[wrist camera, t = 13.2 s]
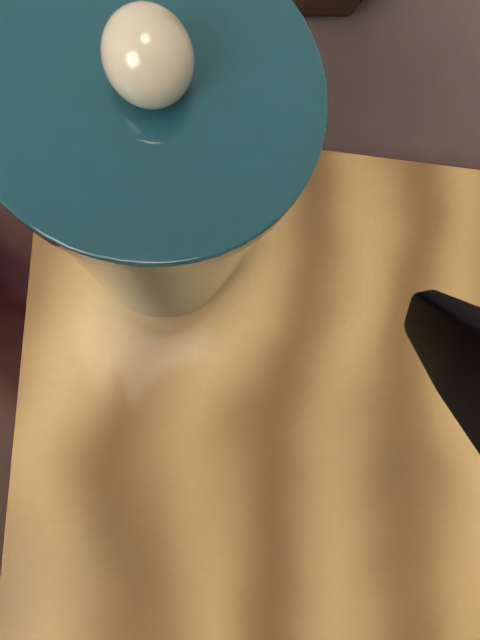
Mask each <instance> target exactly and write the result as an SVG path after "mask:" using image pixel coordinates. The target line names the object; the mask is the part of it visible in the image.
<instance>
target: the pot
mask: <svg viewBox="0 0 480 640" xmlns="http://www.w3.org/2000/svg"><path fill="white" fill-rule="evenodd" d="M327 117H328V95H327V83H326V77H325V72H324V67H323V63H322V59H321V56H320V53H319V50H318V47H317V44H316V41H315V39H314V36H313V34H312V32H311V30H310V28H309V26H308V24H307V22H306V20H305V18H304V17H303V15H302V14H301V12H300V10H299V9H298V7H297V6H296V4H295V3H294V1H293V0H0V203H1V204H2V205H3V206H4V207H5V208H6V209H7V210H8V211H9V212H10V213H12V214H13V215H14V216H15V217H16V218H17V219H18V220H19V221H21V222H22V223H23V224H24V225H25V226H26V227H27V228H28V229H30V230H31V231H33V232H34V233H35V234H37V235H38V236H40V237H41V238H43V239H44V240H46V241H47V242H49V243H50V244H52V245H54V246H56V247H58V248H60V249H62V250H64V251H66V252H68V253H69V254H70V255H71V256H72V257H73V258H74V259H75V260H76V261H77V262H78V263H79V264H80V265H81V266H82V267H83V268H84V269H85V270H86V271H87V272H88V273H89V274H90V275H91V276H92V278H93V279H94V280H95V281H96V282H97V283H98V284H99V285H100V286H101V287H102V288H103V289H104V290H105V291H106V292H107V293H108V294H109V295H110V296H111V297H112V298H113V299H114V300H116V301H117V302H118V303H120V304H121V305H123V306H124V307H126V308H128V309H130V310H132V311H134V312H136V313H139V314H142V315H146V316H151V317H160V318H166V317H176V316H181V315H185V314H188V313H191V312H193V311H195V310H197V309H199V308H201V307H202V306H204V305H205V304H207V303H208V302H209V301H210V300H212V299H213V298H214V297H215V296H216V295H217V293H218V292H219V291H220V290H221V288H222V287H223V285H224V284H225V283H226V281H227V280H228V278H229V277H230V275H231V274H232V272H233V271H234V269H235V268H236V266H237V265H238V263H239V262H240V261H241V259H242V258H243V256H244V255H245V253H246V252H247V250H248V249H249V247H250V246H251V244H253V243H255V242H256V241H258V240H259V239H260V238H261V237H263V236H264V235H265V234H266V233H267V232H269V231H270V230H271V229H272V228H274V226H275V225H276V224H277V223H278V222H279V221H280V220H281V219H282V218H283V217H284V216H285V215H286V213H287V212H288V211H289V210H290V209H291V207H292V206H293V205H294V203H295V202H296V201H297V199H298V198H299V196H300V195H301V193H302V192H303V190H304V189H305V188H306V186H307V184H308V182H309V180H310V178H311V176H312V174H313V172H314V170H315V168H316V166H317V163H318V160H319V157H320V154H321V151H322V148H323V144H324V139H325V134H326V128H327Z"/></svg>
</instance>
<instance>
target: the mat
mask: <svg viewBox="0 0 480 640" xmlns="http://www.w3.org/2000/svg"><path fill="white" fill-rule="evenodd" d="M426 290H437V291H439V292H442V293H445V294H447V295H450V296H452V297H455V298H458V299H460V300H463V301H465V302H468V303H471V304H473V305H476V306H478V307H480V170H476V169H468V168H460V167H452V166H445V165H437V164H429V163H421V162H413V161H405V160H397V159H389V158H381V157H374V156H366V155H358V154H350V153H342V152H334V151H326V150H322V151H321V154H320V157H319V160H318V163H317V166H316V168H315V170H314V172H313V174H312V176H311V178H310V180H309V182H308V184H307V186H306V188H305V189H304V190H303V192H302V193H301V195H300V196H299V198H298V199H297V201H296V202H295V203H294V205H293V206H292V207H291V209H290V210H289V211H288V212H287V213H286V215H285V216H284V217H283V218H282V219H281V220H280V221H279V222H278V223H277V224H276V225H275V226H274V228H272V229H271V230H270V231H269V232H267V233H266V234H265V235H264V236H263V237H261V238H260V239H259V240H258V241H256V242H255V243H253V244H251V246H250V247H249V249H248V250H247V252H246V253H245V255H244V256H243V258H242V259H241V261H240V262H239V263H238V265H237V266H236V268H235V269H234V271H233V272H232V274H231V275H230V277H229V278H228V280H227V281H226V283H225V284H224V285H223V287H222V288H221V290H220V291H219V292H218V293H217V295H216V296H215V297H214V298H213V299H212V300H210V301H209V302H208V303H207V304H205V305H204V306H202V307H201V308H199V309H197V310H195V311H193V312H191V313H188V314H185V315H181V316H176V317H166V318H160V317H151V316H146V315H142V314H139V313H136V312H134V311H132V310H130V309H128V308H126V307H124V306H123V305H121V304H120V303H118V302H117V301H116V300H114V299H113V298H112V297H111V296H110V295H109V294H108V293H107V292H106V291H105V290H104V289H103V288H102V287H101V286H100V285H99V284H98V283H97V282H96V281H95V280H94V279H93V278H92V276H91V275H90V274H89V273H88V272H87V271H86V270H85V269H84V268H83V267H82V266H81V265H80V264H79V263H78V262H77V261H76V260H75V259H74V258H73V257H72V256H71V255H70V254H69V253H68V252H66V251H64V250H62V249H60V248H58V247H56V246H54V245H52V244H50V243H49V242H47V241H46V240H44V239H43V238H41V237H40V236H38V235H37V234H35V233H34V232H33V241H32V251H31V262H30V272H29V283H28V293H27V304H26V314H25V325H24V335H23V346H22V356H21V367H20V377H19V388H18V398H17V409H16V419H15V430H14V440H13V451H12V461H11V472H10V482H9V493H8V503H7V514H6V524H5V535H4V546H3V556H2V567H1V577H0V640H480V454H479V453H478V451H477V450H476V448H475V447H474V445H473V444H472V443H471V441H470V440H469V438H468V437H467V435H466V434H465V432H464V431H463V429H462V428H461V426H460V425H459V423H458V422H457V420H456V419H455V417H454V416H453V414H452V413H451V411H450V410H449V409H448V407H447V406H446V404H445V403H444V401H443V400H442V398H441V396H440V395H439V393H438V392H437V390H436V388H435V387H434V385H433V383H432V381H431V380H430V378H429V376H428V374H427V372H426V370H425V368H424V366H423V364H422V363H421V361H420V359H419V357H418V355H417V353H416V351H415V349H414V348H413V346H412V344H411V342H410V340H409V338H408V336H407V334H406V332H405V329H404V321H405V317H406V314H407V310H408V307H409V304H410V300H411V297H412V296H413V295H414V294H415V293H417V292H421V291H426Z"/></svg>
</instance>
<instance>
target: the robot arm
mask: <svg viewBox="0 0 480 640" xmlns="http://www.w3.org/2000/svg"><path fill="white" fill-rule="evenodd" d="M404 329H405V332H406V334H407V336H408V338H409V340H410V342H411V344H412V346H413V348H414V349H415V351H416V353H417V355H418V357H419V359H420V361H421V363H422V364H423V366H424V368H425V370H426V372H427V374H428V376H429V378H430V380H431V381H432V383H433V385H434V387H435V388H436V390H437V392H438V393H439V395H440V396H441V398H442V400H443V401H444V403H445V404H446V406H447V407H448V409H449V410H450V411H451V413H452V414H453V416H454V417H455V419H456V420H457V422H458V423H459V425H460V426H461V428H462V429H463V431H464V432H465V434H466V435H467V437H468V438H469V440H470V441H471V443H472V444H473V445H474V447H475V448H476V450H477V451H478V453H479V454H480V307H478V306H476V305H473V304H471V303H468V302H465V301H463V300H460V299H458V298H455V297H452V296H450V295H447V294H445V293H442V292H439V291H437V290H426V291H421V292H417V293H415V294H414V295H413V296H412V297H411V300H410V304H409V307H408V310H407V314H406V317H405V321H404Z"/></svg>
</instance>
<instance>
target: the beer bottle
mask: <svg viewBox="0 0 480 640" xmlns="http://www.w3.org/2000/svg"><path fill="white" fill-rule="evenodd" d="M293 1H294V3H295V4H296V6H297V7H298V9H299V10H300V12H301V14H302V15H303V16H347V15H348V14H350V13H351V12H352V11H353V10H354V9H355V7H356V6H357V5H358V4H359V2H360V1H361V0H293Z"/></svg>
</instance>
